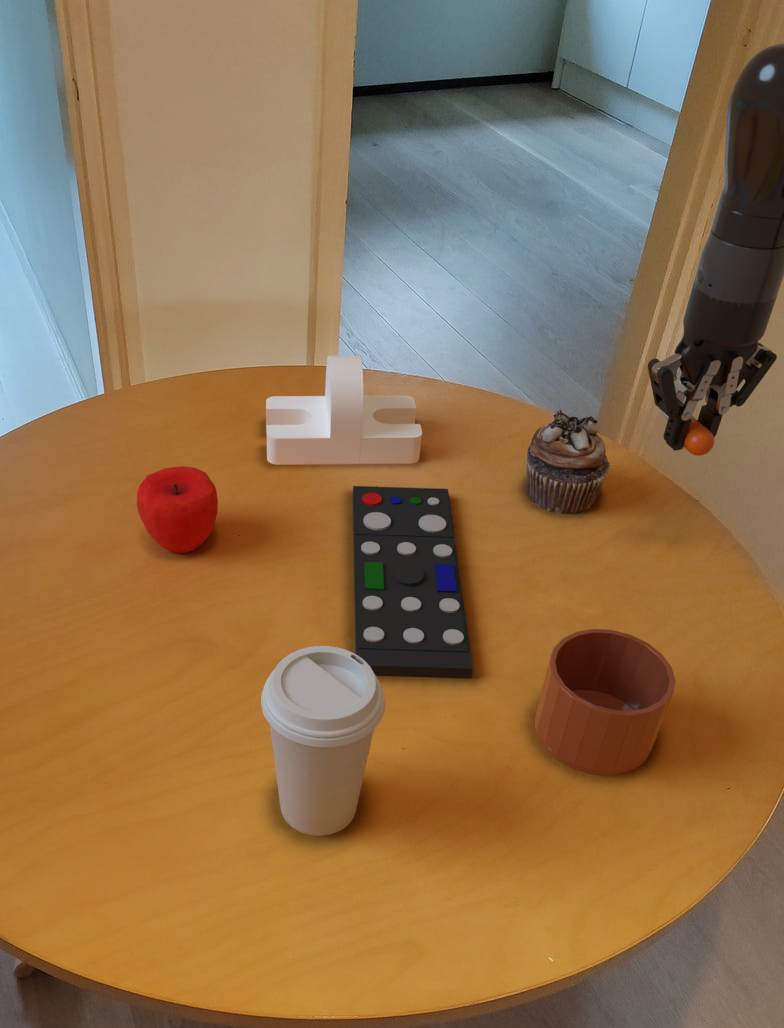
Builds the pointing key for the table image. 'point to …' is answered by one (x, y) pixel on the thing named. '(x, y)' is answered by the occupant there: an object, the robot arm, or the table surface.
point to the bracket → (342, 423)
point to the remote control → (408, 584)
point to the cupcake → (566, 464)
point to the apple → (178, 507)
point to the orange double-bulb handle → (697, 438)
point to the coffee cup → (321, 734)
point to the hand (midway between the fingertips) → (687, 443)
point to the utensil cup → (603, 701)
